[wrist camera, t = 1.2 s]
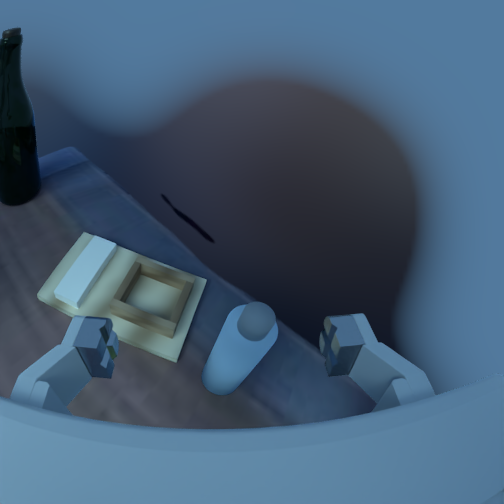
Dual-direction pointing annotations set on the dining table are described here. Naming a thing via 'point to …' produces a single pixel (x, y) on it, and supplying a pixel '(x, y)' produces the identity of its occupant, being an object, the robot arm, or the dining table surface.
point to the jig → (135, 299)
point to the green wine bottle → (16, 127)
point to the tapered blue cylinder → (239, 347)
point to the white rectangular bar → (85, 271)
